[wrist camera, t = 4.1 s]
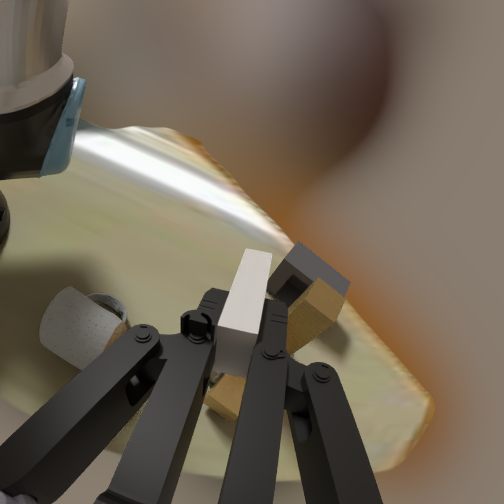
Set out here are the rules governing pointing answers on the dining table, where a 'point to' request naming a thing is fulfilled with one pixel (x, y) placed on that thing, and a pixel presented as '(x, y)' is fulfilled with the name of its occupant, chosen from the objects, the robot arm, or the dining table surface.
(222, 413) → the t-shaped wooden piece
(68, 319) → the ceramic mug
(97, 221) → the dining table surface
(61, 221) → the dining table surface
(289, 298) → the slotted grey block
